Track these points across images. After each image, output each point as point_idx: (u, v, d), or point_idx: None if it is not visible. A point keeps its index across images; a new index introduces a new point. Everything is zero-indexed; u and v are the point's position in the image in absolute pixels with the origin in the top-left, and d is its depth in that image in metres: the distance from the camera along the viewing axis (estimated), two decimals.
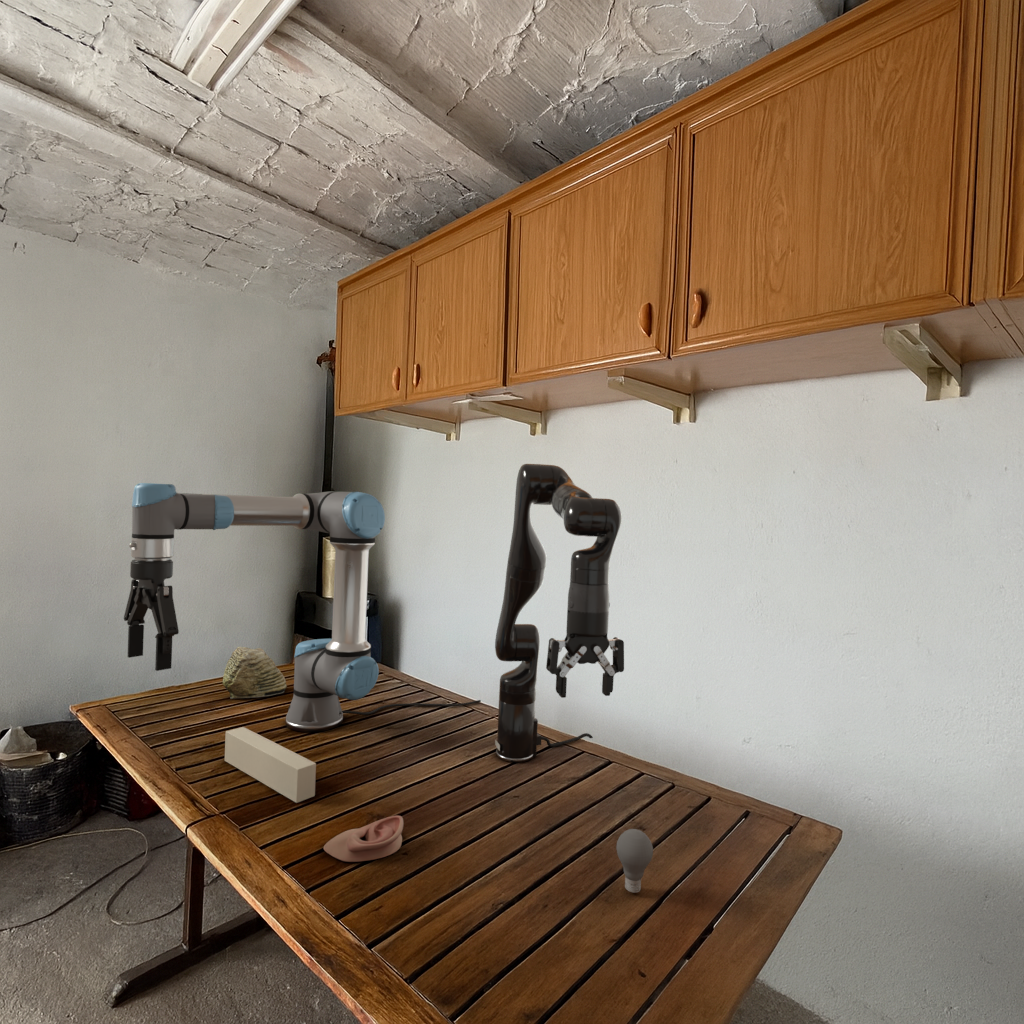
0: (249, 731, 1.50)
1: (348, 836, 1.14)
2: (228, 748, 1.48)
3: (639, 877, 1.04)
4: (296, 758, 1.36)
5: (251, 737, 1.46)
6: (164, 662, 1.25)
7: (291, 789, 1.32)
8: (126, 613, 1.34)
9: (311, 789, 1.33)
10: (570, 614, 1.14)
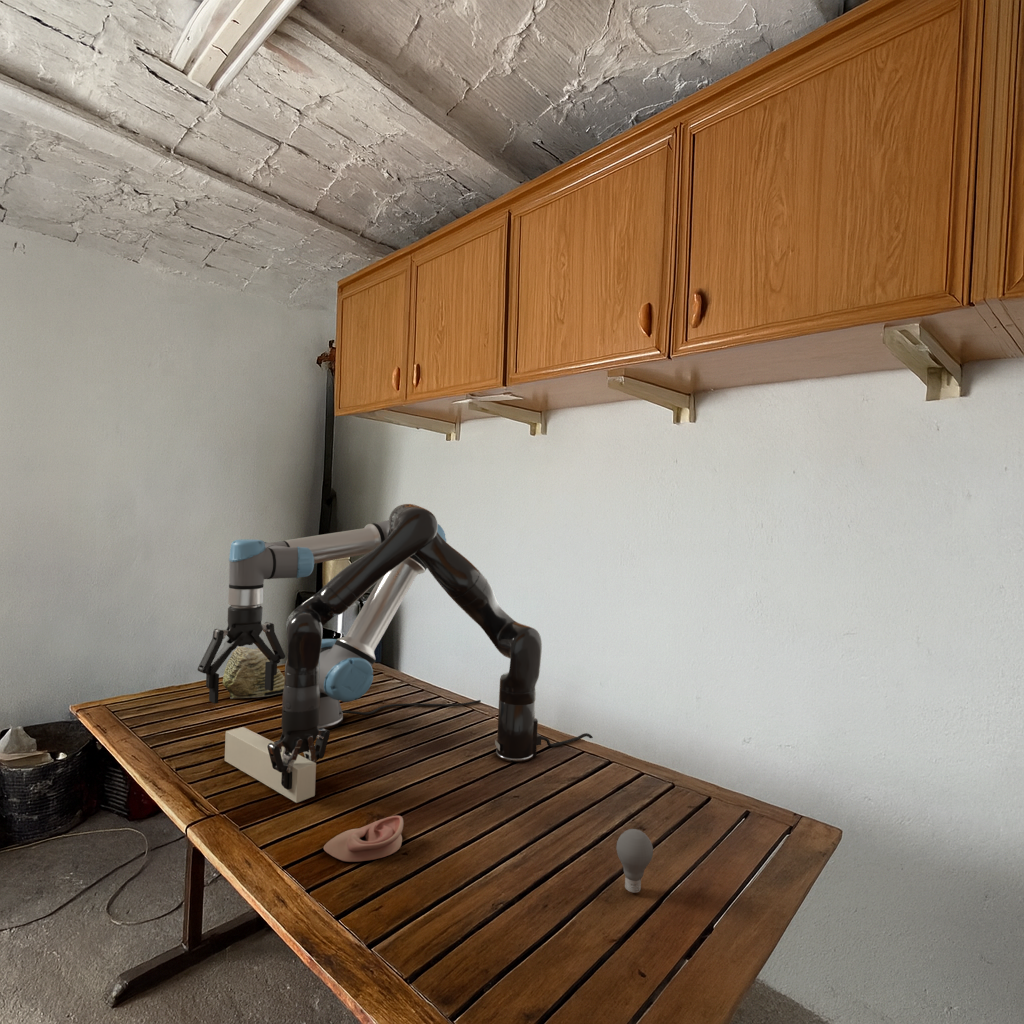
0: (249, 731, 1.50)
1: (348, 836, 1.14)
2: (228, 748, 1.48)
3: (639, 877, 1.04)
4: None
5: (251, 737, 1.46)
6: (212, 696, 1.43)
7: (291, 789, 1.32)
8: None
9: (311, 789, 1.33)
10: (287, 714, 1.30)
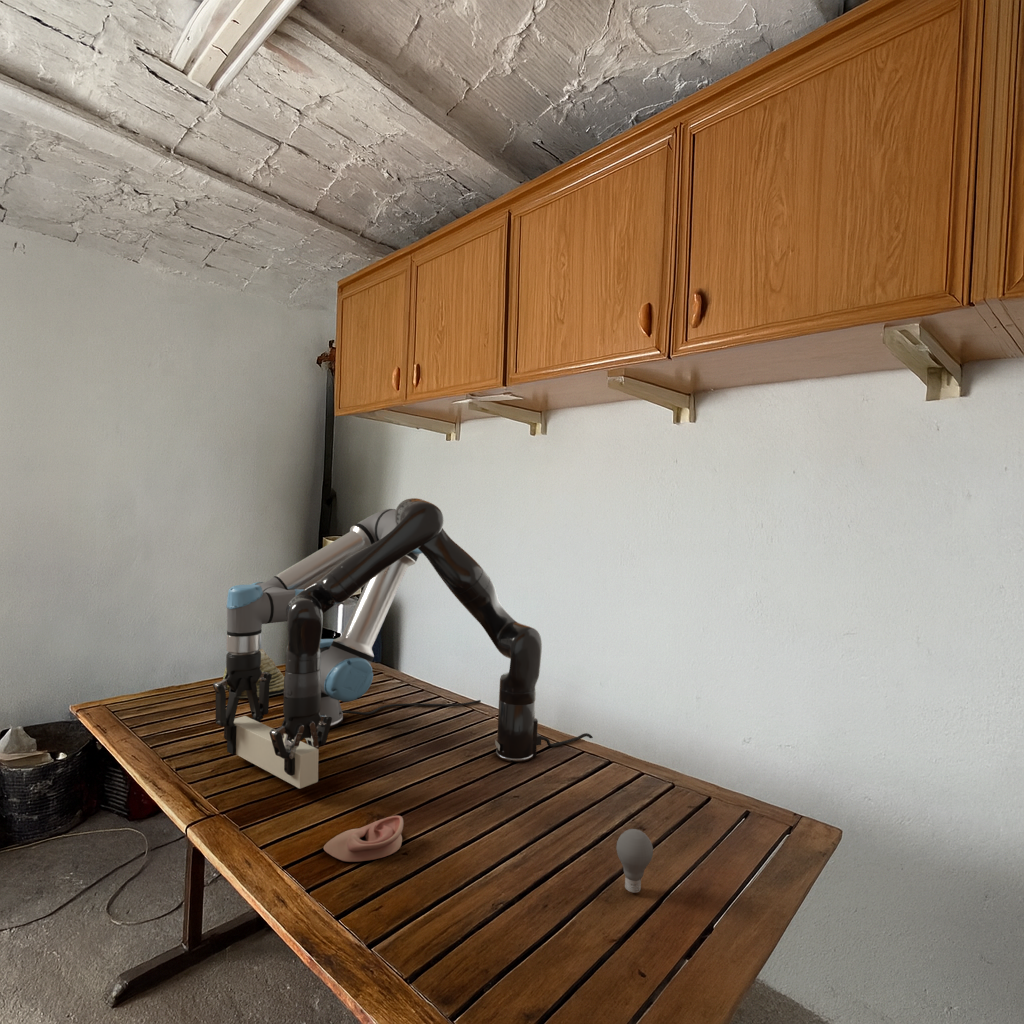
0: (251, 720, 1.50)
1: (348, 836, 1.14)
2: None
3: (639, 877, 1.04)
4: None
5: (254, 725, 1.47)
6: (230, 747, 1.47)
7: (294, 775, 1.32)
8: None
9: (314, 775, 1.33)
10: (289, 700, 1.30)
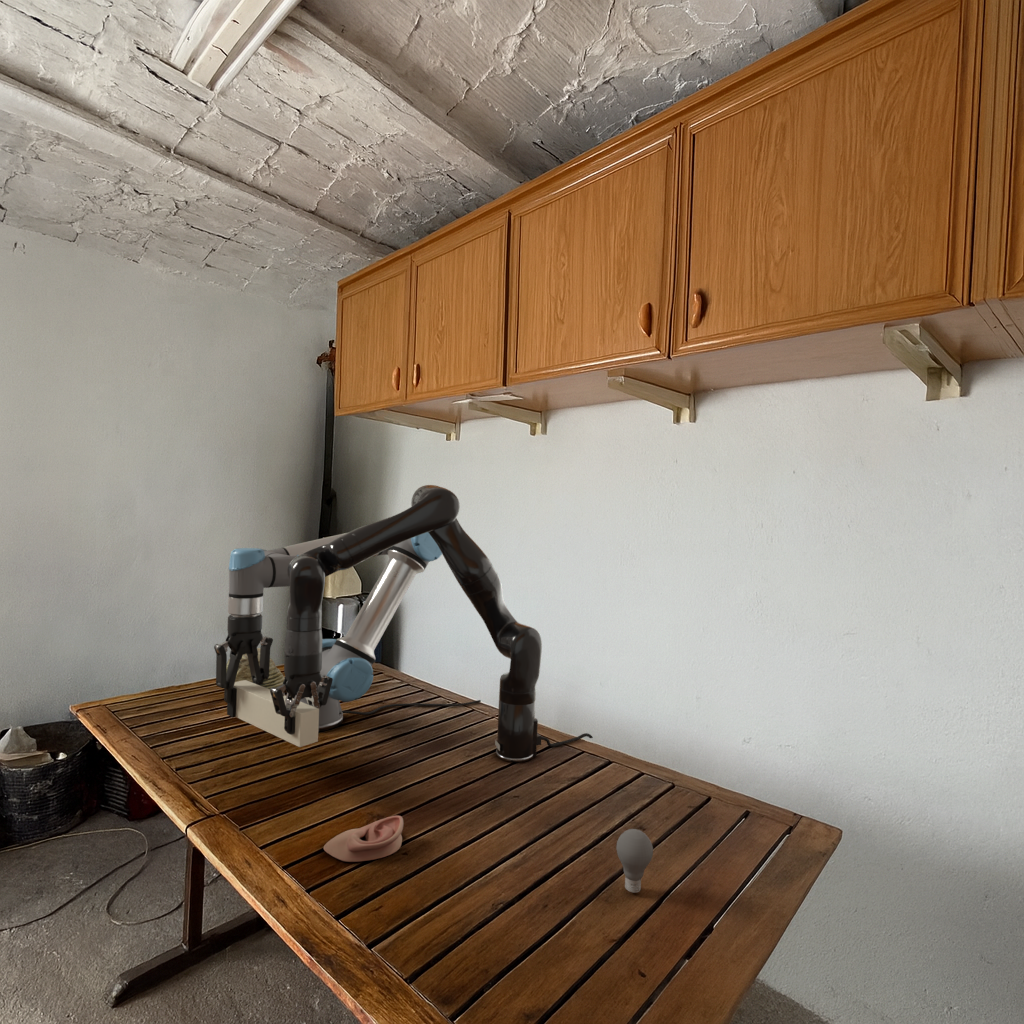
0: (251, 683, 1.50)
1: (348, 836, 1.14)
2: None
3: (639, 877, 1.04)
4: (299, 704, 1.36)
5: (254, 688, 1.46)
6: (230, 710, 1.47)
7: (295, 734, 1.31)
8: None
9: (314, 735, 1.33)
10: (290, 658, 1.30)
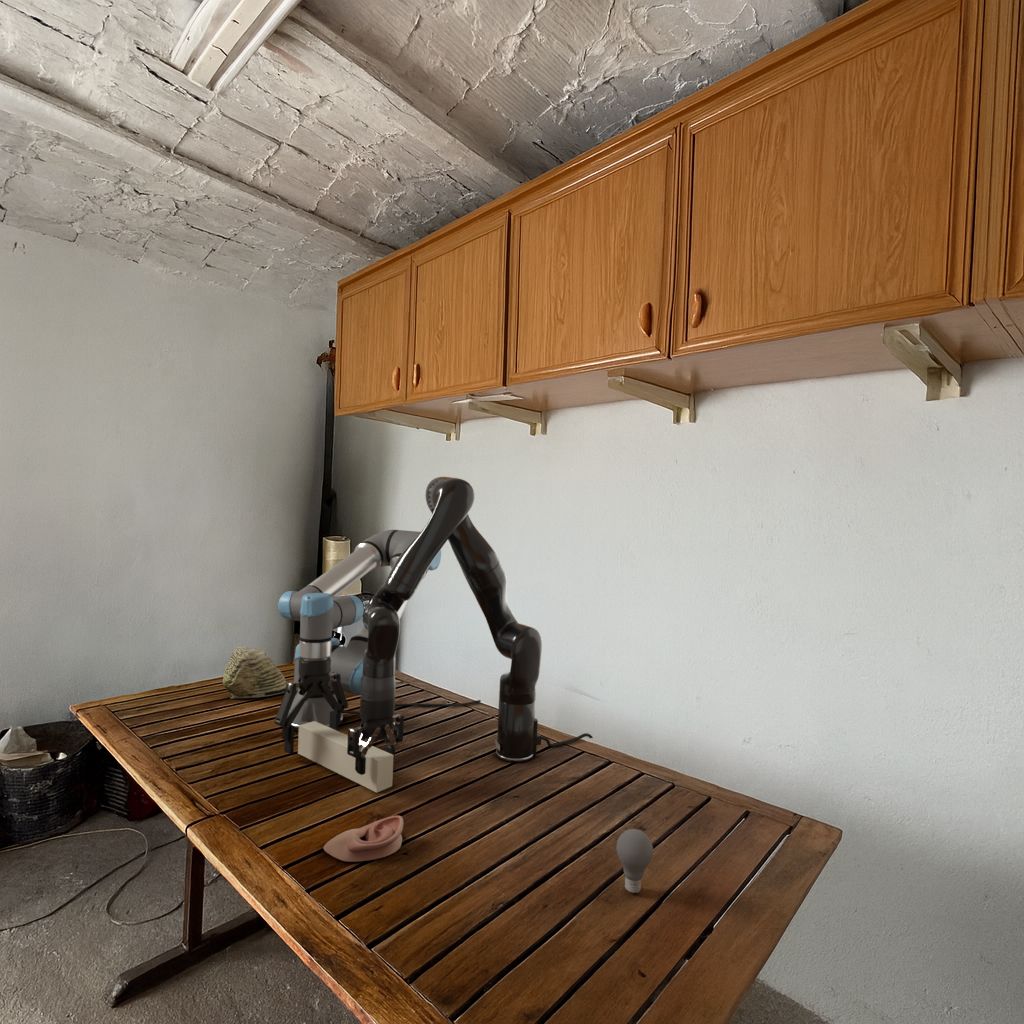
0: (321, 725, 1.56)
1: (348, 836, 1.14)
2: (302, 741, 1.54)
3: (639, 877, 1.04)
4: (373, 750, 1.42)
5: (325, 730, 1.52)
6: (287, 746, 1.50)
7: (371, 780, 1.38)
8: None
9: (389, 780, 1.39)
10: (366, 704, 1.36)
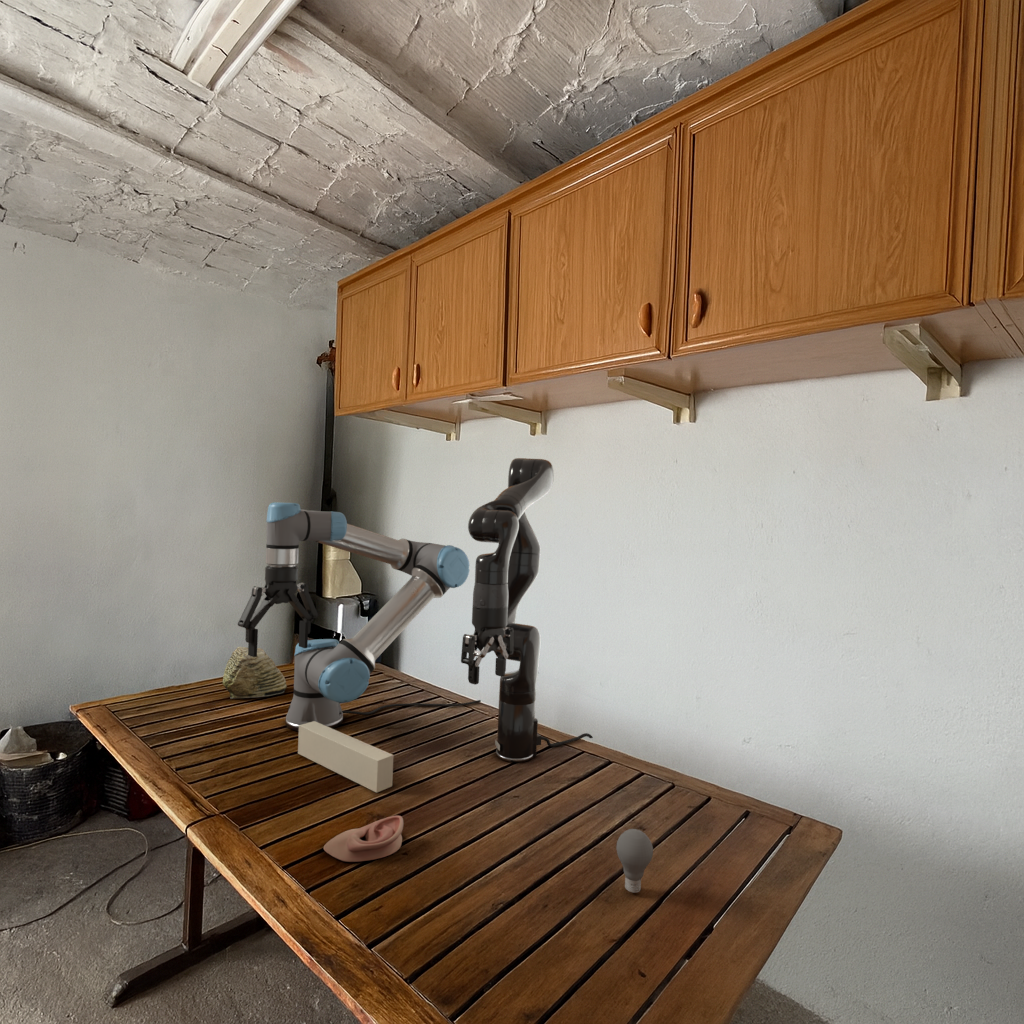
0: (321, 725, 1.56)
1: (348, 836, 1.14)
2: (302, 741, 1.54)
3: (639, 877, 1.04)
4: (373, 750, 1.42)
5: (325, 730, 1.52)
6: (251, 650, 1.50)
7: (371, 780, 1.38)
8: None
9: (389, 780, 1.39)
10: (481, 611, 1.31)
